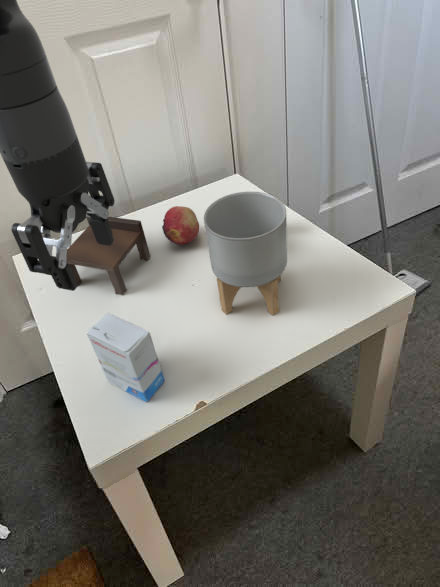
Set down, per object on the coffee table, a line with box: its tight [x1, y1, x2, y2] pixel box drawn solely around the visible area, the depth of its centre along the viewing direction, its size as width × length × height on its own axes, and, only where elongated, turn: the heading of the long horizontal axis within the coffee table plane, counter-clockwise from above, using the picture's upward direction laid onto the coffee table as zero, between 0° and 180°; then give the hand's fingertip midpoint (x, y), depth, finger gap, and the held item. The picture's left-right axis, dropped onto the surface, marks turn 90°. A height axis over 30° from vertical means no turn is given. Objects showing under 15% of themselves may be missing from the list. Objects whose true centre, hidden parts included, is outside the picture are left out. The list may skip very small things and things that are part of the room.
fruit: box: [161, 205, 200, 246], centre depth 95 cm, size 8×8×8 cm
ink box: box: [86, 312, 165, 403], centre depth 69 cm, size 9×5×12 cm, turn 58°
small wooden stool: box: [66, 216, 151, 296], centre depth 91 cm, size 12×12×9 cm
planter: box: [203, 191, 288, 316], centre depth 78 cm, size 13×13×18 cm
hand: (88, 264), depth 57 cm, fingers open, 8 cm apart
